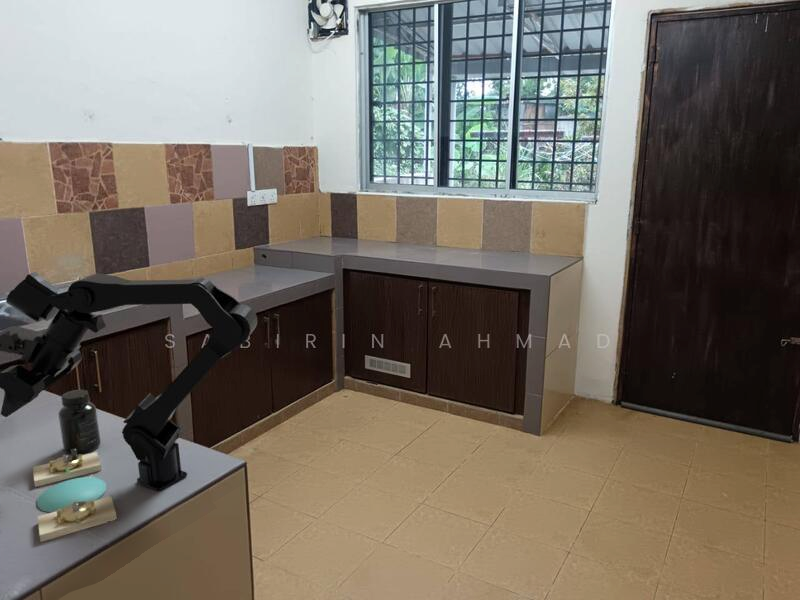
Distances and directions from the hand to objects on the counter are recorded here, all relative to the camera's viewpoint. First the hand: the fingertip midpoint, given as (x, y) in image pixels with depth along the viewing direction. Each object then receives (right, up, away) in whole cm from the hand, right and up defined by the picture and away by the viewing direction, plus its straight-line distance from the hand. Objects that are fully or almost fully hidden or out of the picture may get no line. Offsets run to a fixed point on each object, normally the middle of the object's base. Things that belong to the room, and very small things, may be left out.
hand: (18, 404), depth 109 cm
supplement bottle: (+3, -12, +17) cm, 21 cm away
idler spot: (+10, -16, 0) cm, 19 cm away
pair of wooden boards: (+10, -16, 0) cm, 19 cm away
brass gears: (+10, -15, 0) cm, 18 cm away
